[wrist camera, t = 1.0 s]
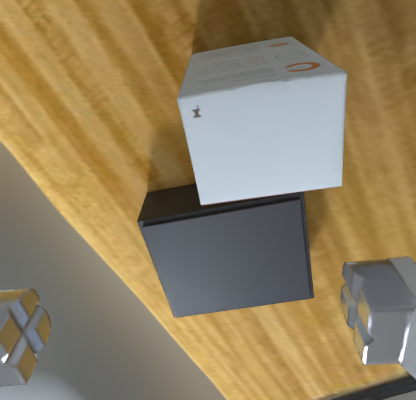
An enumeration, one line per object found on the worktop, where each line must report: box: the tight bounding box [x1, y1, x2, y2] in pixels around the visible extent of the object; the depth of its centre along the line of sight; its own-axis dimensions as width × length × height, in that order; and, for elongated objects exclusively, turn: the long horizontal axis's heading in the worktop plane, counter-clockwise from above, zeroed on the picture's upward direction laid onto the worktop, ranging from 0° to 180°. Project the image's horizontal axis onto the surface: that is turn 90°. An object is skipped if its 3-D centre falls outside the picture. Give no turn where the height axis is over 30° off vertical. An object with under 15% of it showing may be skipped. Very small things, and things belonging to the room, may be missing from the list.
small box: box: [177, 36, 347, 205], centre depth 24 cm, size 8×6×13 cm
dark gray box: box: [137, 184, 314, 317], centre depth 34 cm, size 14×12×5 cm
